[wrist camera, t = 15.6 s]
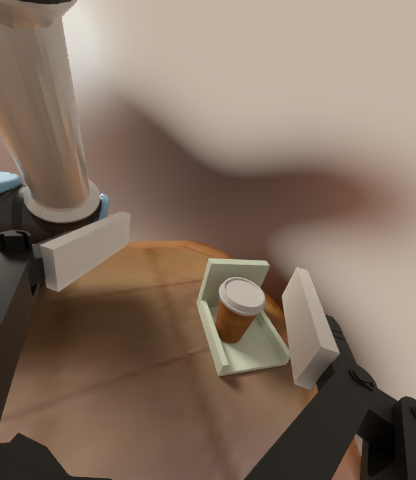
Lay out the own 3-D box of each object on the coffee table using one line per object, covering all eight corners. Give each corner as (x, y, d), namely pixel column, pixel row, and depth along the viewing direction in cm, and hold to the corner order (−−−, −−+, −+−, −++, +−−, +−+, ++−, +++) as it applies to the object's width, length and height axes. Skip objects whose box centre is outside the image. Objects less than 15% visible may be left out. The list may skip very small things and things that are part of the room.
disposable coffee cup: (200, 336, 43) (213, 293, 38) (216, 308, 51) (229, 270, 46) (242, 359, 41) (262, 317, 35) (252, 326, 49) (270, 288, 44)
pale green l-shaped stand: (196, 303, 53) (208, 258, 46) (248, 301, 58) (265, 260, 52) (218, 376, 37) (240, 323, 31) (285, 364, 43) (316, 317, 37)
